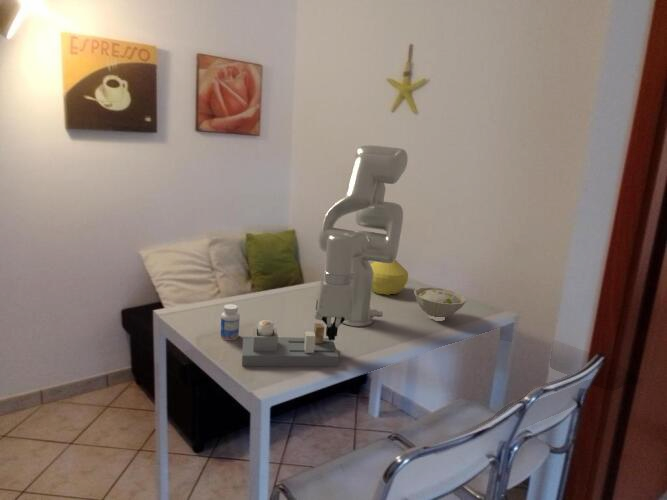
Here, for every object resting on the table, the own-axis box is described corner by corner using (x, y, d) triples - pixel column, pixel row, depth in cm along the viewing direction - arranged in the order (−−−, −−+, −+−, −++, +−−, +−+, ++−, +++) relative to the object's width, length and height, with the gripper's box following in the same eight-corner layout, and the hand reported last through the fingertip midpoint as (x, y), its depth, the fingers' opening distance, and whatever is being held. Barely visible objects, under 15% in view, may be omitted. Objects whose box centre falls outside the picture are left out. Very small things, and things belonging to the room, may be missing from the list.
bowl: (440, 332, 161) (445, 304, 159) (399, 313, 176) (402, 287, 173) (473, 322, 174) (478, 296, 171) (432, 305, 188) (436, 281, 186)
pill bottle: (221, 332, 144) (223, 302, 142) (239, 333, 145) (241, 303, 143) (219, 340, 139) (220, 309, 137) (237, 341, 140) (239, 310, 137)
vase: (353, 288, 200) (358, 244, 196) (382, 282, 213) (387, 241, 209) (386, 301, 188) (392, 255, 183) (414, 294, 200) (420, 250, 196)
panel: (331, 347, 141) (333, 325, 140) (338, 366, 130) (340, 342, 128) (242, 346, 137) (243, 323, 135) (241, 365, 125) (243, 341, 123)
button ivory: (272, 333, 133) (273, 320, 132) (272, 339, 129) (273, 325, 128) (258, 333, 132) (258, 319, 131) (258, 339, 128) (259, 325, 127)
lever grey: (312, 348, 132) (314, 331, 131) (313, 353, 129) (315, 336, 128) (304, 348, 132) (305, 331, 131) (305, 352, 129) (306, 335, 128)
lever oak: (321, 339, 138) (322, 323, 137) (322, 343, 136) (324, 327, 134) (313, 339, 138) (314, 323, 137) (314, 343, 135) (316, 327, 134)
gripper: (359, 275, 138) (353, 333, 142) (309, 273, 135) (304, 332, 139) (365, 282, 131) (358, 344, 135) (312, 280, 128) (307, 343, 132)
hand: (331, 338), depth 137 cm, fingers closed
